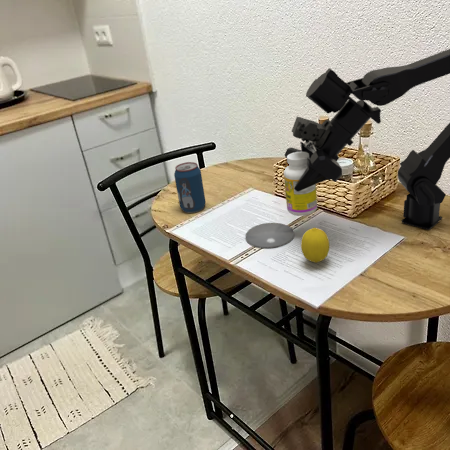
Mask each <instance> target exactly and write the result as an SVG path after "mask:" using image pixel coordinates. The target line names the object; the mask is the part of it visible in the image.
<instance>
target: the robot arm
mask: <svg viewBox="0 0 450 450" xmlns="http://www.w3.org/2000/svg"><path fill="white" fill-rule="evenodd" d="M447 75H450V48H448V49H446V50H443V51H441V52H438V53H435V54H432V55H430V56H428V57H425V58H422V59H419V60H416V61H414V62H411V63H408V64H406V65H401V66H399V65H398V66H389V67H383V68H377V69H373V70H370V71H368V72H367V73H365V74H364V75H363V77H362V78H358V79H355V80H351V81H347V82H346V81H344V80H343V79H342V78H341V77H340V76H339V75H338V74H337V73H336V71H334V70H333V69H332V68H331V67H329V68H328V69H327V70H326V71H325V72H323V73H322V74H321V75H319V76H318V78H315V79H314V80H313V82H312V83H311V84H310V86H309V87H308V89H307V91H306V93H305V97H306V98H307V99H309V100H310V101H311V102H313V103H314V104H315V105H316V106H317V107H318V108H320V109H321V110H322V111H324V112H325V113H326V114H331V113H333V114H335V115H334V116H333V117H332V118H331V120H330V119H325V120H324V121H323V122H322V123H319V122H317V121H313V120H310V119H307V118H305V117H300V116H296V118H295V121H294V123H293V126H292V129H291V132H292V136H293V137H294V138H296V139H298V140H299V139H301V141H300V143H299V144H300V150H301V152H307V153H308V154H309V157H310V159H309V158H307V169H306V170H305V172H304V173H303V175H302V176H301V178H300V179H299V181H298V182H297V184H296V186H295V187H294V189H295V190H296V191H297V192H298V191H301V190H303V189H305V188H308V187H310V186H312V185H315V184H316V185H317V184H319V183H322V182H325V181H331V180H332V181H333V182H334V183H336V182H337V181H338V180H339V179H340V178H341V177H342V176H343V169H342V167H341V165H340V163H339V162H338V160H339V159H340V157H339V154H340V153H341V152H342V151H343V149H344V148H345V147H346V146H347V145H348V146H349V147H350V146H352V144H354V141H353V140H352V139H354V137H356V135H357V134H358V133H359V132H360V130H361V129H362V128H363V127H364V126H365V125H366V124H367V123H368V122H369V120H370V119H372V120H373V122H375V123H376V124H377V125H379V124H380V123H381V122H382V120H381V119H382V118H381V112H382V110H381V109H380V108H379V107H383V106H386V105H389V104H391V103H392V102H395V100H398V99H399V98H401V97H403V96H404V95H405V94H406V93H408V92H409V91H410V90H411V89H413V88H415V87H417V86H420V85H423V84H425V83H428V82H431V81H433V80H436V79H440V78H442V77H445V76H447ZM351 95H353V96H354V97H355V98H357V101H356V100H355V99H354V98H353V97H351ZM366 101H368V102H370V103H371V104H373V105H375V106H376V107H372V106H371V105H369V103H367V102H366ZM449 160H450V122H449V123H448V124H447V125H446V126H445V127H444V129H442V131H441V132H440V133H439V134H438V135H437V136H436V138H435V139H434V140H433V141H432V142H431V143H430V145H428V147H426V148H425V149H423V150H422V151H421V150H420V151H419V152H416V151H415V149H412V150H411V151H410V152H409V153H408V155H407V157H406V158H405V159H404V160H402V161H401V162H399V165H400V167H399V169H398V170H397V179H398V181H399V182H400V184H401V185H402V186H403V187H404V188H405V190H406V191H407V192H408V194H406V198H405V199H404V201H403V215H402V216H403V218H402V220H401V223H402V224H405V225H408V226H412V227H416V228H419V229H423V230H428V231H430V230H431V229H433V227H435V226H436V225H437V224H438V223H440V221H441V220H443V216H441V215H440V210H441V204H442V203H443V201H444V200H445V197H446V196H447V195H446V193H445V192H444V190H443V189H441V188H440V186H439V185H437V184H438V182H439V181H440V180H441V177H442V174H443V172H444V168H445V165H446V163H447V162H448V161H449Z"/></svg>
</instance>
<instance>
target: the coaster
mask: <svg viewBox="0 0 450 450" xmlns="http://www.w3.org/2000/svg"><path fill="white" fill-rule="evenodd" d="M293 237H295V231H294V229H293V228H292V227H291V226H289V225H287V224H284V223H279V222H266V223H260V224H258V225H257V224H256V225H255V226H252V227H251V228H250V229H248V230H247V232H246V233H245V240H246V242H247V244H249V245H250V246H252V247H254V248H259V249H275V248H280V247H283V246H286V245H288V244H290V243H291V242H292V241H293V239H294V238H293Z"/></svg>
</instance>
